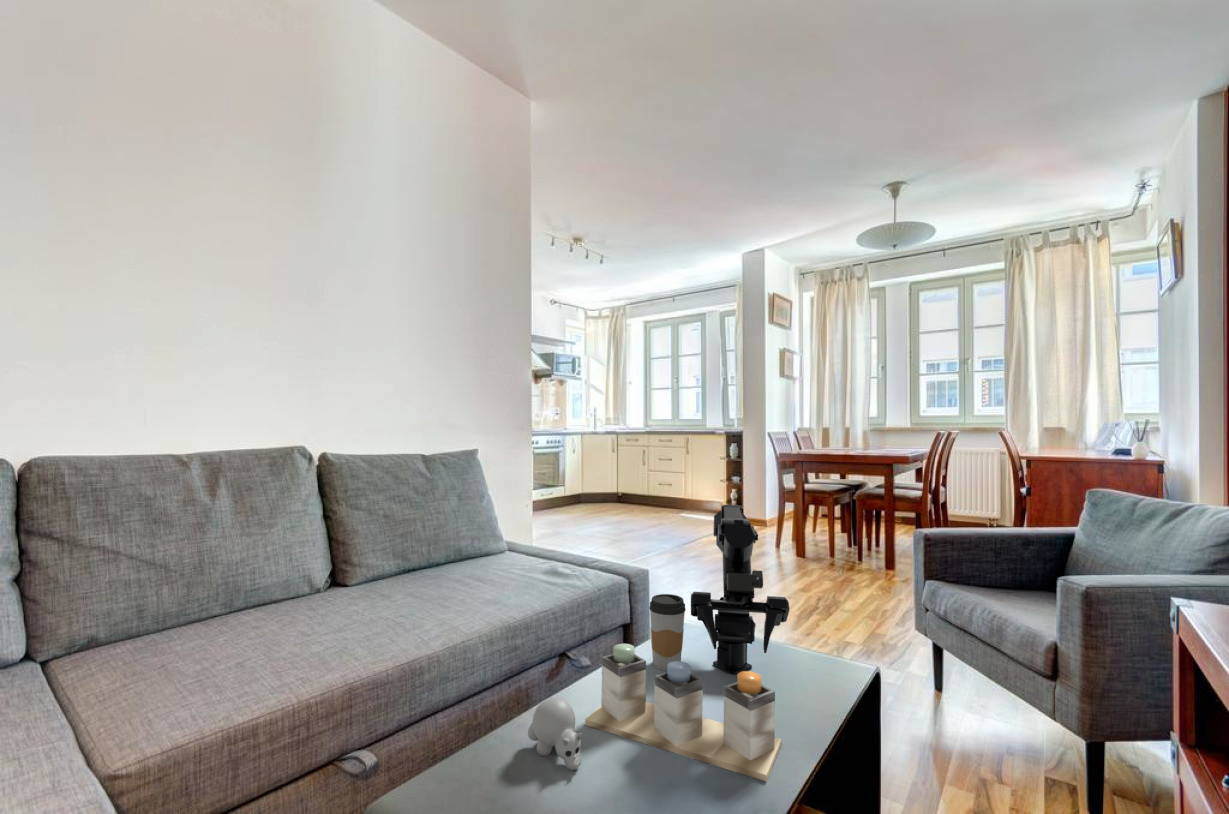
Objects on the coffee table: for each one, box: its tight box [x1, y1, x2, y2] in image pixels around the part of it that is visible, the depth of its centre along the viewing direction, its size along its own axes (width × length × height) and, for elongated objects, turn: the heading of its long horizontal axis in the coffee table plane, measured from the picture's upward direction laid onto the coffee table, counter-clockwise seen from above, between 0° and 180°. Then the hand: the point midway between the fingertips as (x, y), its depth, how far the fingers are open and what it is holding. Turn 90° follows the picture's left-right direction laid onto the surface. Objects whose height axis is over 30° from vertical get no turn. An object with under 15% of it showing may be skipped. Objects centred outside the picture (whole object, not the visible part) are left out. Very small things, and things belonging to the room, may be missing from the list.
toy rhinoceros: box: [527, 696, 583, 771], centre depth 94 cm, size 7×12×8 cm, turn 35°
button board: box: [584, 653, 783, 782], centre depth 102 cm, size 11×33×11 cm, turn 62°
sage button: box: [613, 643, 636, 663], centre depth 108 cm, size 4×4×2 cm
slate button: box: [666, 660, 691, 683], centre depth 100 cm, size 4×4×2 cm
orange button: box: [736, 670, 763, 694], centre depth 97 cm, size 4×4×2 cm
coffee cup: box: [649, 593, 686, 671], centre depth 130 cm, size 8×8×15 cm
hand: (740, 650), depth 106 cm, fingers open, 9 cm apart
